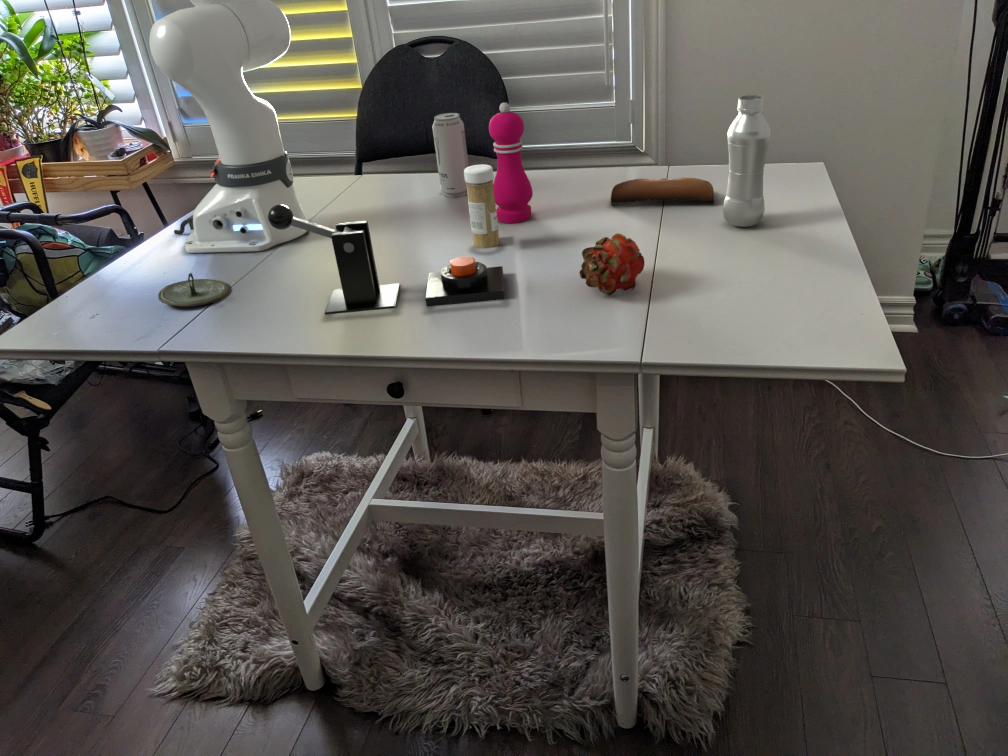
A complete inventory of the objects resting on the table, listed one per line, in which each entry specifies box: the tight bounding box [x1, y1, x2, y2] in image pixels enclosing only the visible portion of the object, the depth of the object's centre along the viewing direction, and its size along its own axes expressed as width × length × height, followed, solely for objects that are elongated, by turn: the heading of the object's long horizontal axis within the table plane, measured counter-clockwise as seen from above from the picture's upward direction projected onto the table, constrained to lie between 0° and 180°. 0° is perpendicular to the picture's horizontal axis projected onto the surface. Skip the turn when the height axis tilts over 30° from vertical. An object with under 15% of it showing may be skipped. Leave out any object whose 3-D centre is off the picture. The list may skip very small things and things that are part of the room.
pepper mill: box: [488, 102, 534, 224], centre depth 139 cm, size 7×7×20 cm
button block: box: [424, 261, 505, 308], centre depth 116 cm, size 11×9×4 cm
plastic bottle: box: [722, 94, 772, 228], centre depth 126 cm, size 6×7×20 cm
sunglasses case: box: [610, 176, 715, 206], centre depth 144 cm, size 18×7×7 cm, turn 78°
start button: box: [449, 255, 476, 276], centre depth 114 cm, size 4×4×2 cm
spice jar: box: [464, 163, 500, 249], centre depth 129 cm, size 5×5×13 cm
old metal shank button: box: [157, 272, 231, 307], centre depth 123 cm, size 11×10×5 cm
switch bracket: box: [324, 220, 401, 315], centre depth 114 cm, size 10×8×12 cm
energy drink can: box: [431, 112, 470, 198], centre depth 156 cm, size 6×6×15 cm
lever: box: [268, 205, 365, 239], centre depth 111 cm, size 13×3×3 cm, turn 91°
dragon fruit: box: [578, 233, 645, 296], centre depth 112 cm, size 8×8×12 cm
